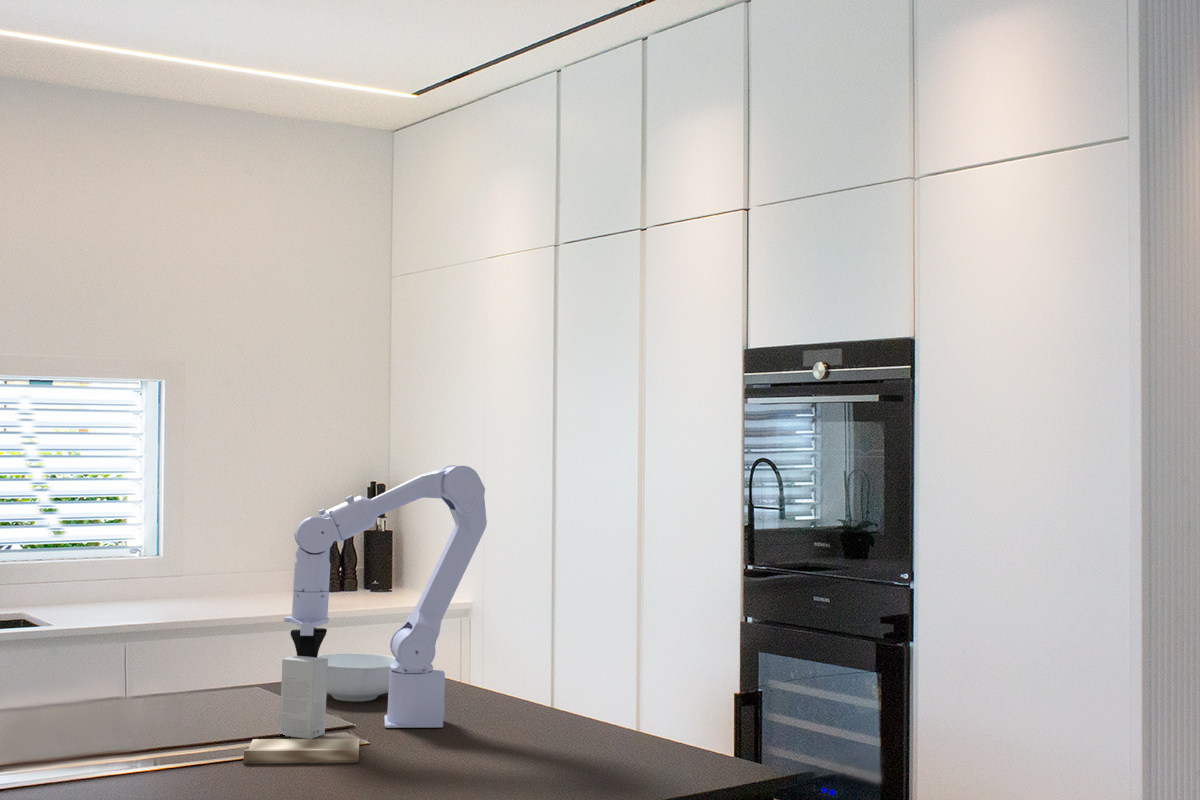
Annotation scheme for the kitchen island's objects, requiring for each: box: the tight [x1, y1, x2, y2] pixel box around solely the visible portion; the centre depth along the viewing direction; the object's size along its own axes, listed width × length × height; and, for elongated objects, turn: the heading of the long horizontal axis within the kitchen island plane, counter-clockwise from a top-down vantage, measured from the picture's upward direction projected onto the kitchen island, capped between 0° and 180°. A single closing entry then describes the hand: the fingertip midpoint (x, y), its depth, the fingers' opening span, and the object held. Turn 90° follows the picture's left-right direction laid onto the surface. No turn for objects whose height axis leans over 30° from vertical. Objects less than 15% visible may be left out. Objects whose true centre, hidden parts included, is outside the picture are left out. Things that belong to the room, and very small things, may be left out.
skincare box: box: [278, 655, 328, 739], centre depth 183 cm, size 6×4×12 cm
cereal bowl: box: [317, 652, 396, 702], centre depth 213 cm, size 17×17×7 cm
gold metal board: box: [242, 738, 360, 765], centre depth 172 cm, size 16×13×2 cm
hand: (306, 674), depth 189 cm, fingers closed
